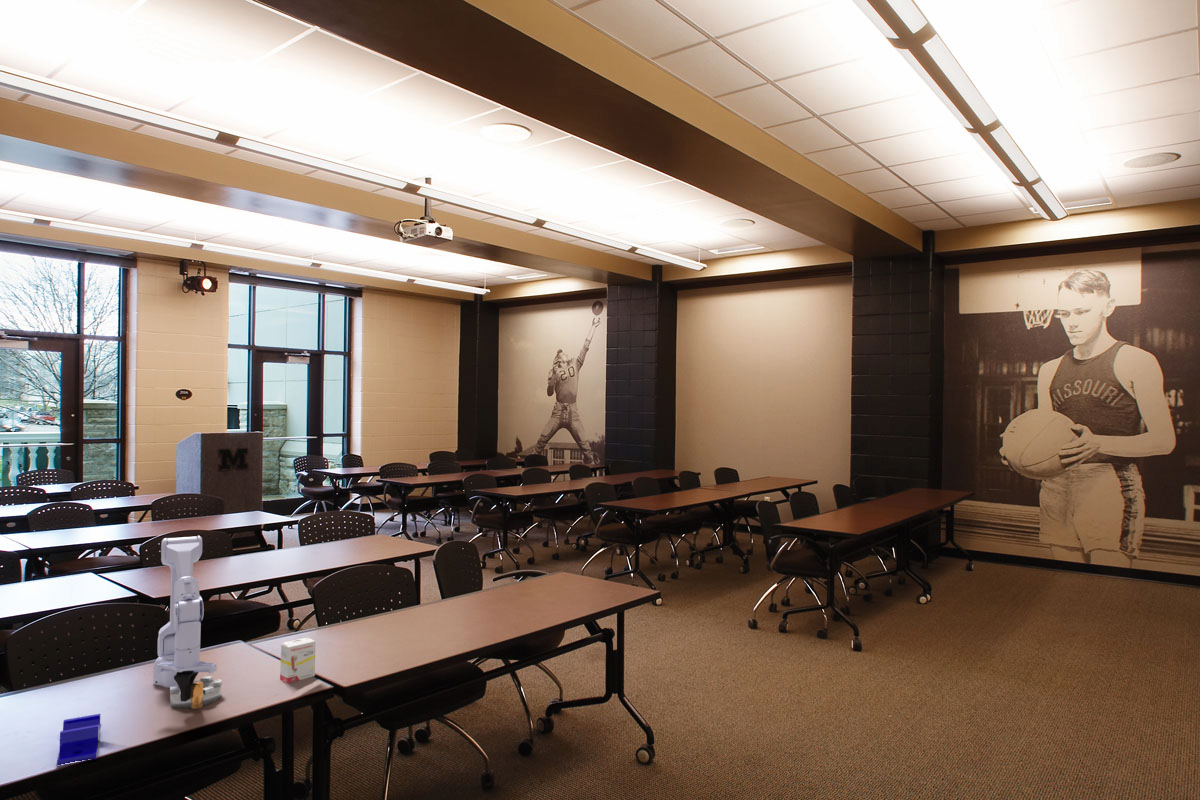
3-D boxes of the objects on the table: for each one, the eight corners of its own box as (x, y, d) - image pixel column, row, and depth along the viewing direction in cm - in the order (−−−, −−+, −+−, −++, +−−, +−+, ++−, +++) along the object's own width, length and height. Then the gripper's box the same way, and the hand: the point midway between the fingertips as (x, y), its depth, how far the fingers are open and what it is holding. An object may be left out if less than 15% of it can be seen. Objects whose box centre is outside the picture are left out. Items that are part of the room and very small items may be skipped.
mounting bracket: (96, 760, 163) (97, 734, 163) (56, 768, 159) (57, 741, 159) (101, 730, 178) (101, 706, 178) (65, 737, 175) (66, 712, 175)
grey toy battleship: (169, 695, 196) (170, 668, 197) (220, 687, 203) (220, 661, 203) (169, 719, 182) (170, 689, 182) (223, 709, 188) (224, 680, 188)
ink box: (286, 688, 206) (287, 646, 207) (279, 683, 210) (280, 643, 210) (315, 680, 213) (316, 640, 213) (307, 676, 216) (308, 636, 216)
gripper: (149, 651, 181) (148, 705, 181) (206, 652, 181) (204, 706, 181) (167, 642, 188) (165, 694, 188) (221, 643, 188) (220, 695, 188)
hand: (185, 699), depth 185 cm, fingers closed
